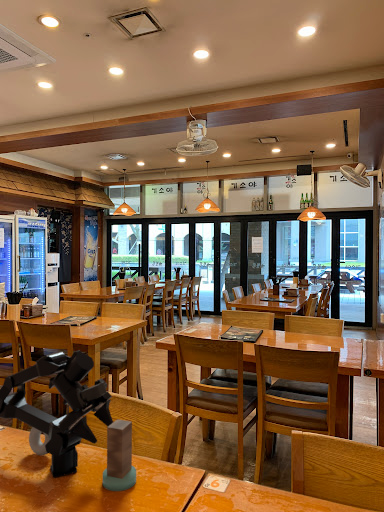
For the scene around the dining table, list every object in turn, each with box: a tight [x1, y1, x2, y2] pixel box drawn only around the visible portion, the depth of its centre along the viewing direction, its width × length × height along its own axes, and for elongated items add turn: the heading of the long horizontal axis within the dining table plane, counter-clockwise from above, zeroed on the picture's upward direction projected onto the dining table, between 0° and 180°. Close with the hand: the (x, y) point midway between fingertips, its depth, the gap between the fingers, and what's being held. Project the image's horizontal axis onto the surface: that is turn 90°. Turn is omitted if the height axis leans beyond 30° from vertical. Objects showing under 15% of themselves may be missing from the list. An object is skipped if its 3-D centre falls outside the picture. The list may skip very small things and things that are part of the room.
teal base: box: [102, 465, 137, 492], centre depth 106 cm, size 9×9×2 cm
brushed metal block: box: [106, 419, 133, 479], centre depth 106 cm, size 5×5×13 cm
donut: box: [28, 426, 50, 456], centre depth 120 cm, size 10×4×10 cm, turn 64°
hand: (105, 435), depth 107 cm, fingers open, 9 cm apart
